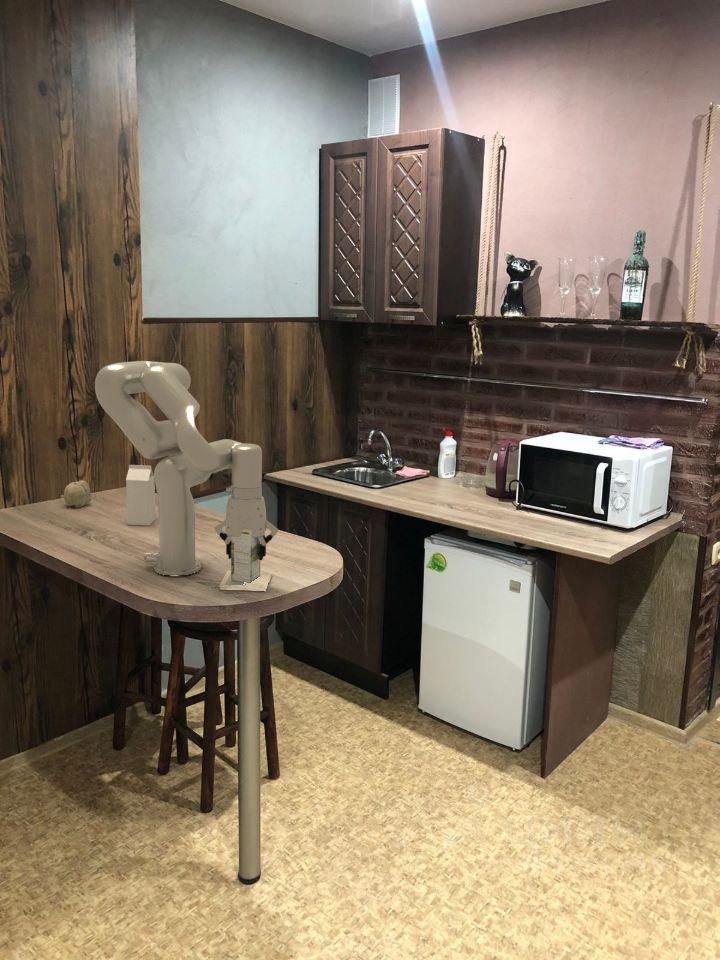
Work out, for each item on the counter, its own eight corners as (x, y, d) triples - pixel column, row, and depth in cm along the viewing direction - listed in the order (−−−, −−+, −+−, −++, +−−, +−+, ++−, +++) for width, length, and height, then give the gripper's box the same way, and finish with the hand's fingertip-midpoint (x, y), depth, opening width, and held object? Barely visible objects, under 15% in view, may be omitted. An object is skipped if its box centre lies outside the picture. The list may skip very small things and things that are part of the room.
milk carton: (149, 526, 254) (148, 468, 250) (127, 525, 254) (125, 467, 250) (155, 520, 261) (154, 463, 257) (133, 519, 261) (132, 462, 257)
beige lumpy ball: (89, 510, 277) (98, 483, 277) (82, 513, 269) (92, 485, 268) (63, 501, 276) (72, 474, 276) (55, 503, 268) (65, 476, 268)
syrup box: (241, 573, 212) (240, 521, 208) (261, 576, 210) (260, 523, 207) (230, 580, 206) (229, 527, 203) (251, 583, 205) (250, 529, 201)
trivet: (219, 590, 203) (219, 586, 202) (227, 573, 214) (227, 570, 214) (266, 592, 203) (266, 588, 202) (272, 575, 214) (272, 572, 214)
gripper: (209, 494, 199) (209, 561, 203) (278, 497, 199) (277, 564, 203) (215, 487, 207) (215, 551, 211) (282, 490, 206) (281, 555, 211)
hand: (246, 557), depth 207 cm, fingers open, 7 cm apart
